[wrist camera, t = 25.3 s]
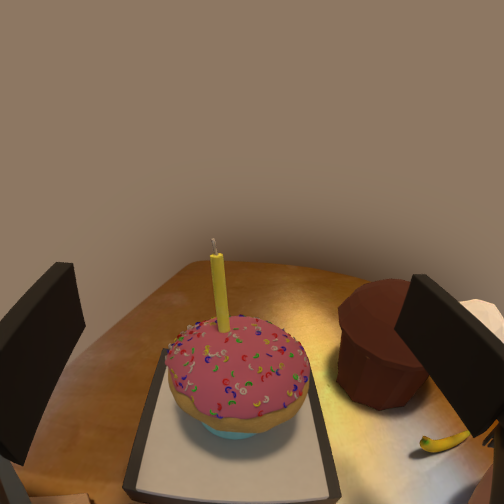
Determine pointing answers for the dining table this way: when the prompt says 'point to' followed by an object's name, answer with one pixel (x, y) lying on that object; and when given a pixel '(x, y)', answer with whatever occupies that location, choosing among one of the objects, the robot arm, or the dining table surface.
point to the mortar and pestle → (483, 489)
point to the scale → (228, 457)
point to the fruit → (443, 442)
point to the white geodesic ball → (487, 315)
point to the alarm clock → (19, 496)
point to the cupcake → (237, 369)
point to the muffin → (377, 347)
